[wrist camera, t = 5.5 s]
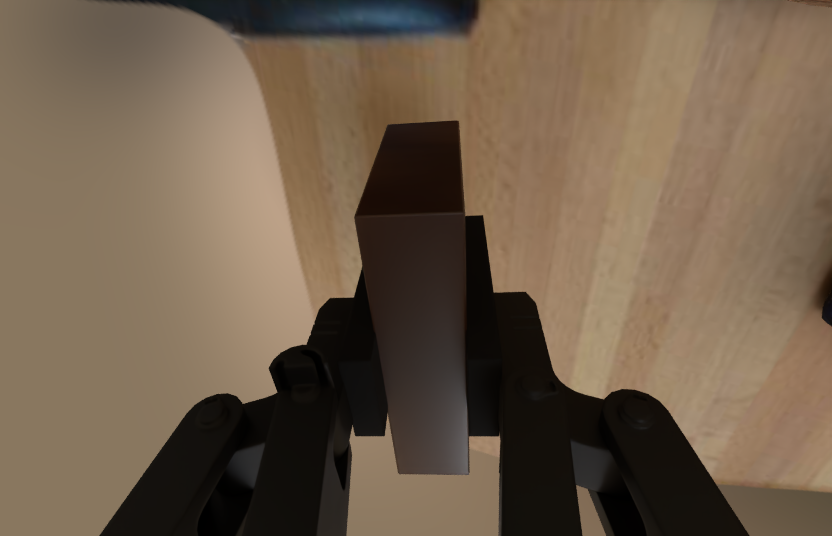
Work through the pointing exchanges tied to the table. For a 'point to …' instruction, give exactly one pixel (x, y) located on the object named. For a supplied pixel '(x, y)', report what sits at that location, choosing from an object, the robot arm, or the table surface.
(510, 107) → the table surface
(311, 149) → the table surface
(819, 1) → the bowl
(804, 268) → the table surface
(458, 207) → the dark brown brick
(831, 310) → the blue rectangular block
